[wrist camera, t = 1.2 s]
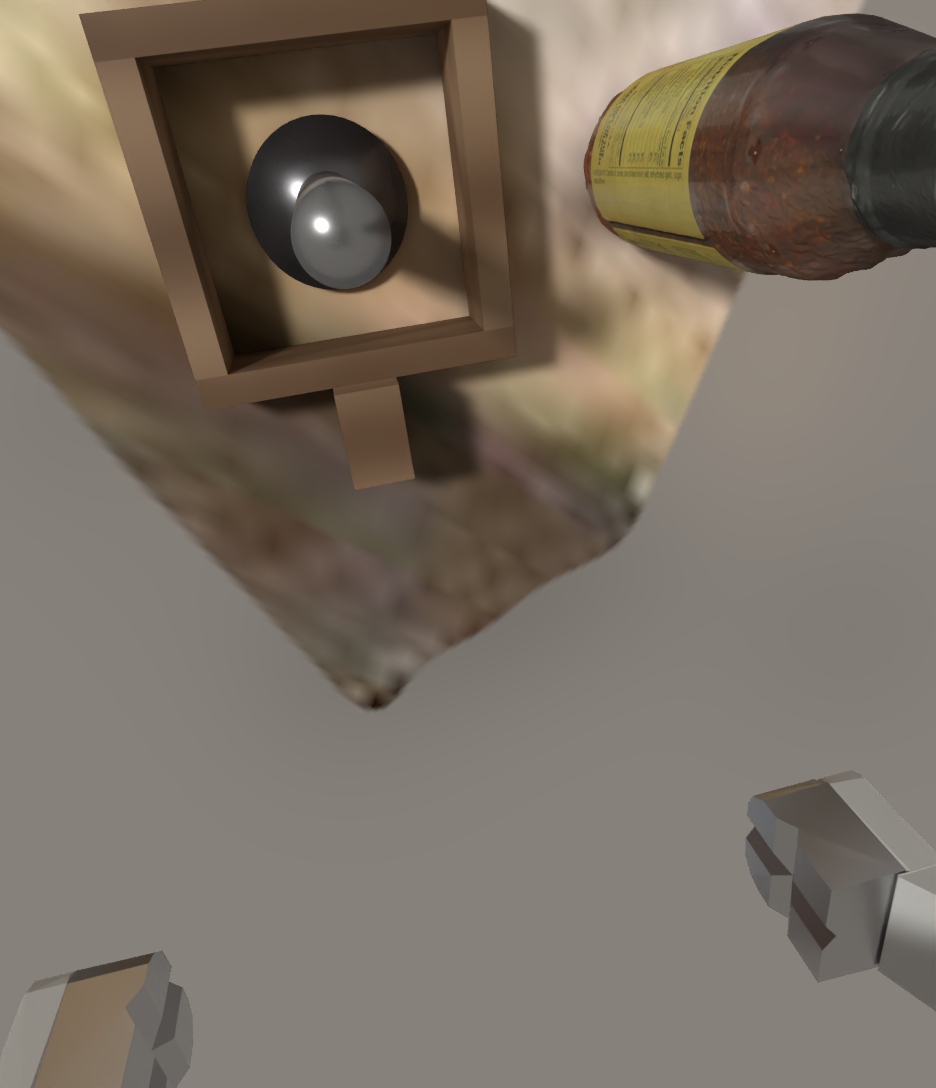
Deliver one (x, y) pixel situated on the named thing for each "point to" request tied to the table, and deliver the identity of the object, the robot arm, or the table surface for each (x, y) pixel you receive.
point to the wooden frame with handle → (145, 137)
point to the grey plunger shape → (327, 202)
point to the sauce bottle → (778, 151)
